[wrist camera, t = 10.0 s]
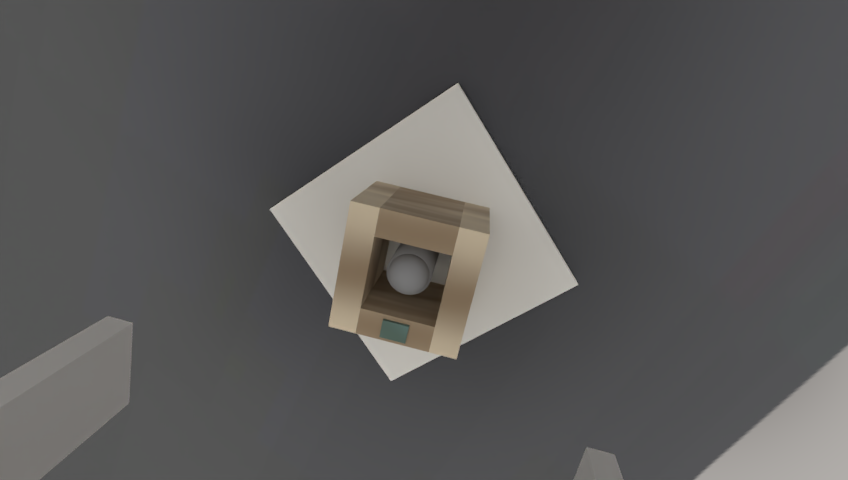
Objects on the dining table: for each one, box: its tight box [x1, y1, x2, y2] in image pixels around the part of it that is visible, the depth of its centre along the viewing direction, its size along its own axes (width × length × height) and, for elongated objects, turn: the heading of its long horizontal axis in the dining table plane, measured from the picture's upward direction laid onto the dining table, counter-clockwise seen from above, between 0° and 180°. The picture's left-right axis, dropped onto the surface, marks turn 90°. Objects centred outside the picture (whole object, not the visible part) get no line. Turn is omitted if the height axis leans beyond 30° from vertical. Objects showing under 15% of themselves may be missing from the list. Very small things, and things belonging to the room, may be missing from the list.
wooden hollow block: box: [329, 181, 490, 359], centre depth 28 cm, size 7×7×6 cm
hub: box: [270, 83, 578, 381], centre depth 28 cm, size 14×14×7 cm
